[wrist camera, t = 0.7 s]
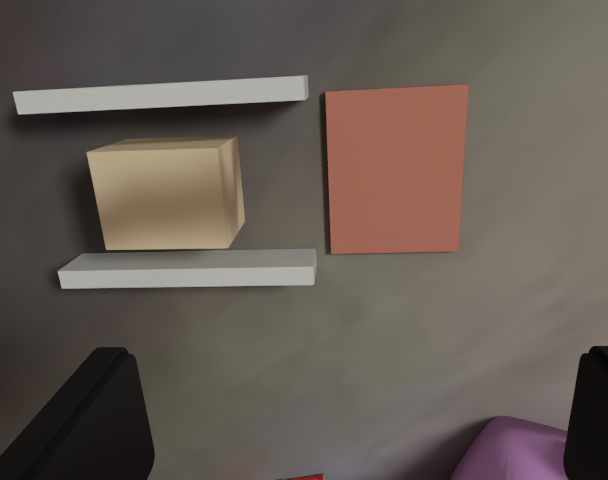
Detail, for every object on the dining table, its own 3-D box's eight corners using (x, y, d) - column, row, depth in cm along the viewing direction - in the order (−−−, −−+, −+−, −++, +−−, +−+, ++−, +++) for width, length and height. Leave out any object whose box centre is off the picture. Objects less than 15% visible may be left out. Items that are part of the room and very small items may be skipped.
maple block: (127, 139, 29) (86, 152, 25) (237, 135, 29) (217, 148, 24) (141, 222, 31) (106, 250, 27) (245, 220, 31) (227, 248, 26)
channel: (45, 89, 29) (12, 92, 26) (307, 75, 27) (303, 75, 24) (86, 269, 33) (61, 288, 30) (316, 265, 31) (314, 285, 28)
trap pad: (325, 91, 27) (325, 91, 27) (466, 84, 27) (468, 84, 26) (331, 251, 31) (331, 253, 30) (456, 249, 30) (458, 251, 30)
